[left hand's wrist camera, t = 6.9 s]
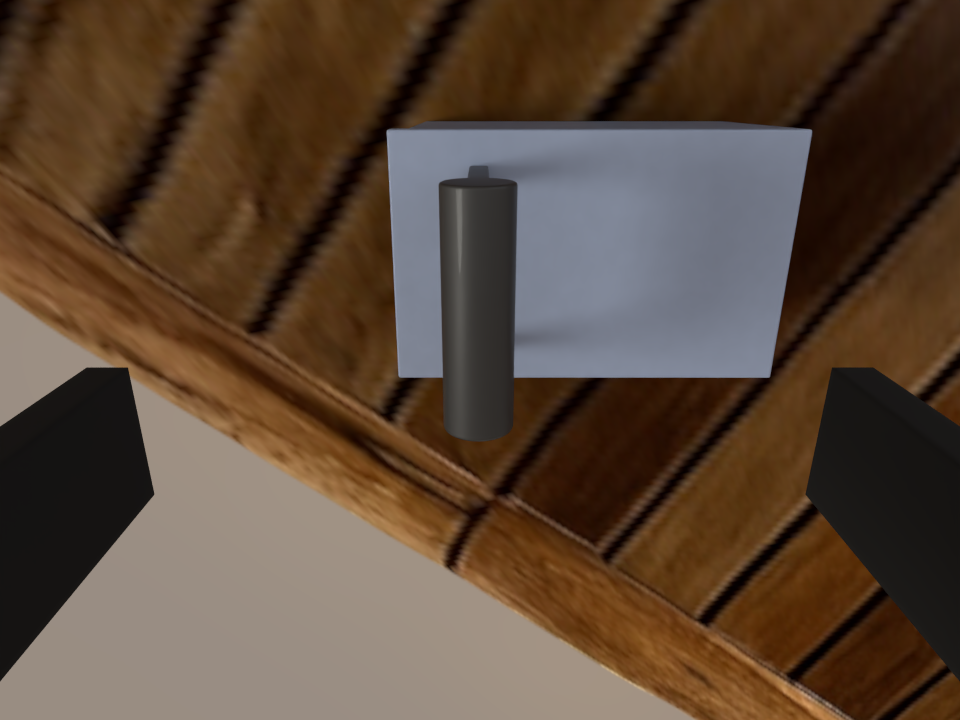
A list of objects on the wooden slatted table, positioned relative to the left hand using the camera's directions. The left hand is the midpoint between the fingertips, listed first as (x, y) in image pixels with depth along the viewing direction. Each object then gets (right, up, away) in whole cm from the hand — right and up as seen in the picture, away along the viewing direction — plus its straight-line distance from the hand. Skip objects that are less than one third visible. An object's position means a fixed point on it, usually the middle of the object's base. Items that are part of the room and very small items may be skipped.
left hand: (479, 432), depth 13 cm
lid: (+4, +5, +14) cm, 15 cm away
